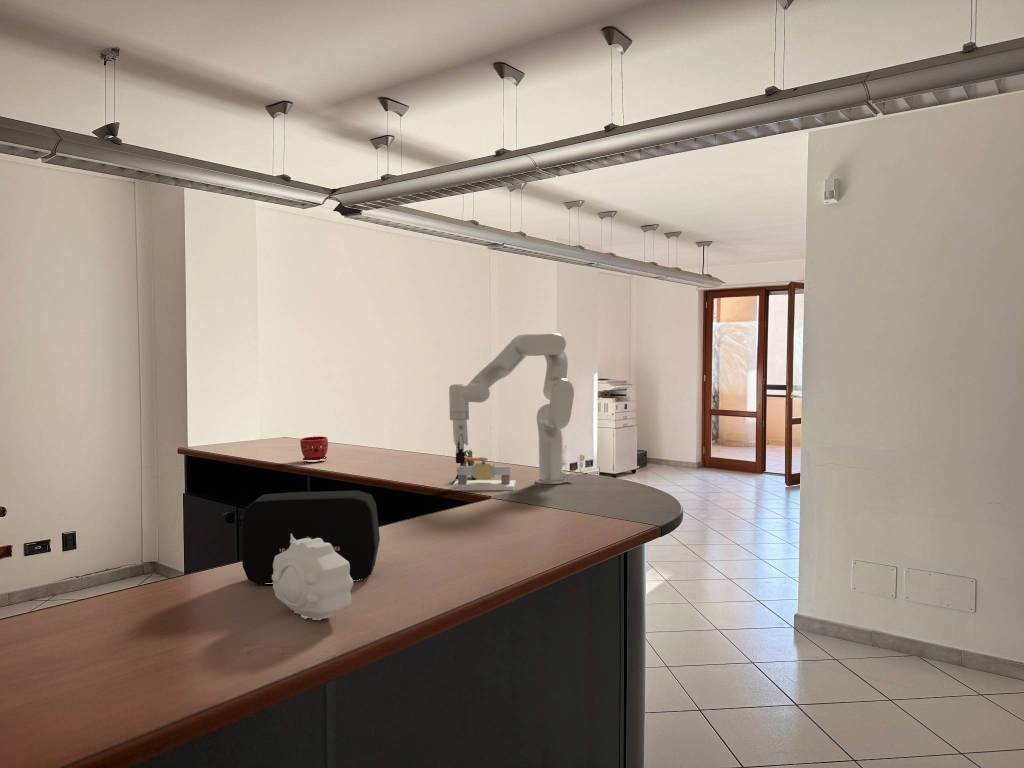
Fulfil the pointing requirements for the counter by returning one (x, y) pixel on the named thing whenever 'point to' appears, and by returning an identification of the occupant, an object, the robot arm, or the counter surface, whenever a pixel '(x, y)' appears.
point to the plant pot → (314, 447)
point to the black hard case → (310, 529)
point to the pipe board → (484, 484)
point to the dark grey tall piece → (470, 463)
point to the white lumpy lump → (312, 578)
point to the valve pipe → (484, 470)
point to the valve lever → (475, 458)
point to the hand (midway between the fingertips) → (460, 462)
